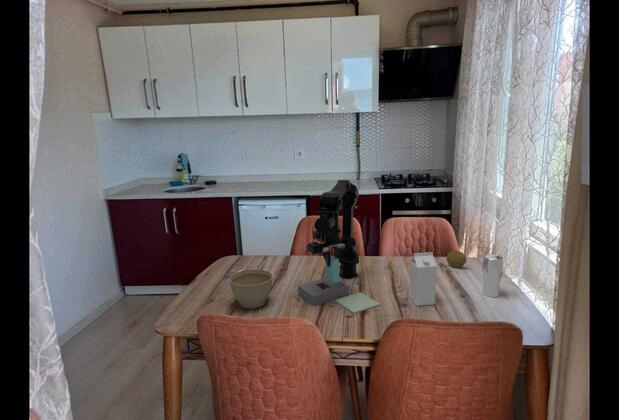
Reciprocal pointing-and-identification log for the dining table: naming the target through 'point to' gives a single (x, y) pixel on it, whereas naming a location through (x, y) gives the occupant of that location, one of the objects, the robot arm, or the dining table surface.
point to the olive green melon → (456, 258)
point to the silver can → (492, 274)
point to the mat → (357, 302)
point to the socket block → (322, 291)
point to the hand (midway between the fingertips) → (332, 266)
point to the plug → (333, 270)
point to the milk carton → (423, 279)
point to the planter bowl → (251, 287)
